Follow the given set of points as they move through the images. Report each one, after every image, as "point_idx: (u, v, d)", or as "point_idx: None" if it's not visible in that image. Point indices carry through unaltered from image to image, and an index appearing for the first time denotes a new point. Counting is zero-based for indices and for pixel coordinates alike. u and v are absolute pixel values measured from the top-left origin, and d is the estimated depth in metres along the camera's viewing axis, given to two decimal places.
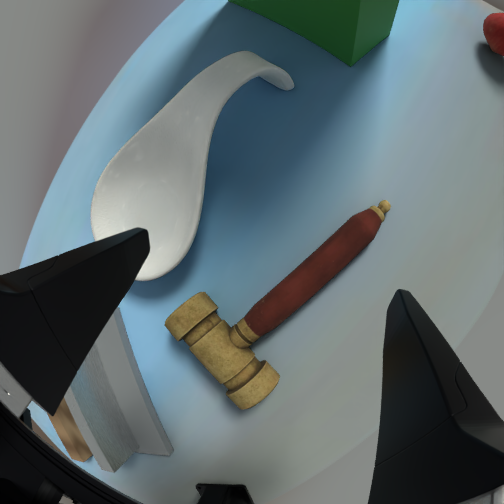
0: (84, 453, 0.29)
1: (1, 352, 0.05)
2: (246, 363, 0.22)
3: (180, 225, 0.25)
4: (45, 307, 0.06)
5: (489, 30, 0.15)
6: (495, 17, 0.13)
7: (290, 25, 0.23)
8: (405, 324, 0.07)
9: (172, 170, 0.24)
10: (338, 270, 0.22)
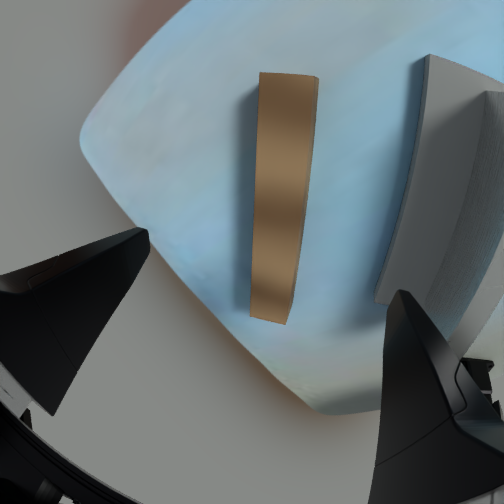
0: (289, 306, 0.23)
1: (1, 352, 0.05)
2: None
3: None
4: (45, 308, 0.06)
5: None
6: None
7: None
8: (405, 324, 0.07)
9: None
10: None
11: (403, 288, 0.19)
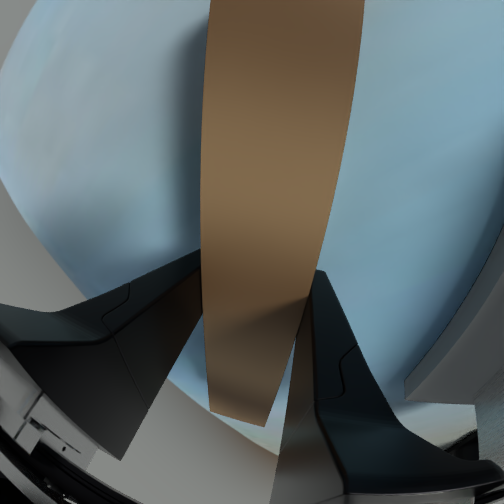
0: None
1: (75, 412, 0.04)
2: None
3: None
4: (126, 351, 0.06)
5: None
6: None
7: None
8: (307, 302, 0.08)
9: None
10: None
11: (453, 384, 0.10)
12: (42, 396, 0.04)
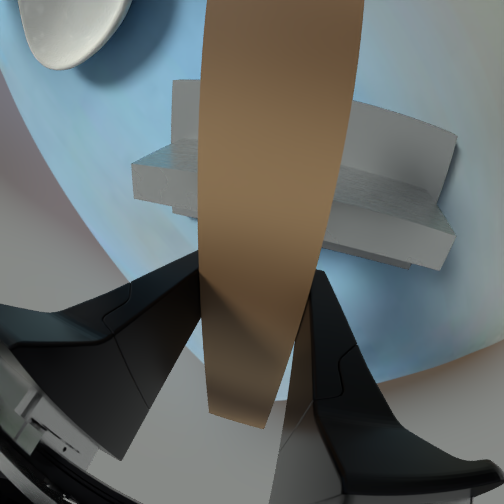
0: None
1: (76, 412, 0.04)
2: None
3: None
4: (127, 351, 0.06)
5: None
6: None
7: None
8: (306, 302, 0.08)
9: None
10: None
11: None
12: (43, 396, 0.04)
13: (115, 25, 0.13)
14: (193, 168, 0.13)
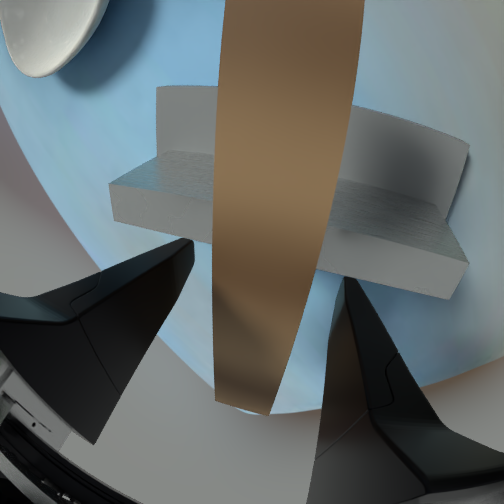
0: None
1: (43, 389, 0.04)
2: None
3: None
4: (92, 334, 0.06)
5: None
6: None
7: None
8: (344, 311, 0.07)
9: None
10: None
11: None
12: (14, 371, 0.04)
13: (89, 30, 0.11)
14: (174, 188, 0.12)
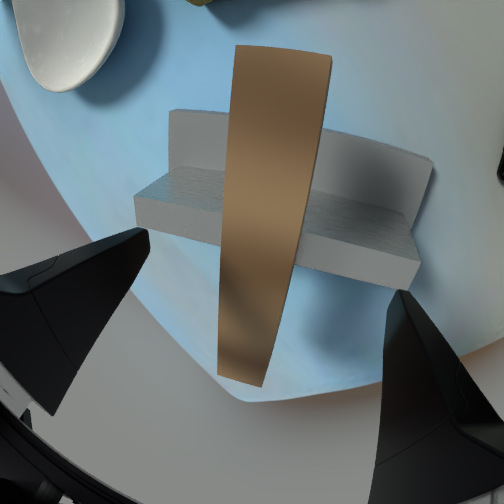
0: (267, 366, 0.18)
1: (1, 352, 0.05)
2: None
3: None
4: (45, 307, 0.06)
5: None
6: None
7: None
8: (405, 324, 0.07)
9: None
10: None
11: None
12: None
13: (106, 55, 0.15)
14: (188, 201, 0.15)
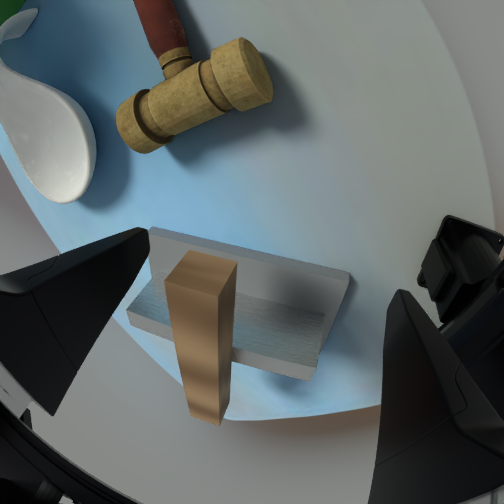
0: (223, 413, 0.25)
1: (1, 352, 0.05)
2: (196, 66, 0.14)
3: None
4: (45, 308, 0.06)
5: None
6: None
7: None
8: (405, 324, 0.07)
9: (41, 110, 0.20)
10: None
11: None
12: None
13: (87, 185, 0.22)
14: (162, 318, 0.22)
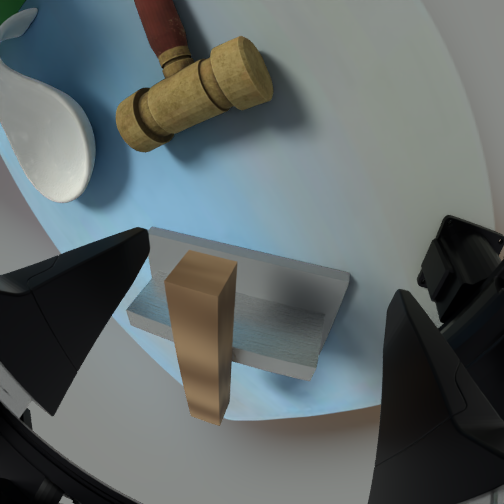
0: (223, 413, 0.25)
1: (1, 352, 0.05)
2: (196, 64, 0.14)
3: None
4: (45, 308, 0.06)
5: None
6: None
7: None
8: (405, 324, 0.07)
9: (40, 110, 0.20)
10: None
11: None
12: None
13: (86, 184, 0.22)
14: (162, 318, 0.22)
